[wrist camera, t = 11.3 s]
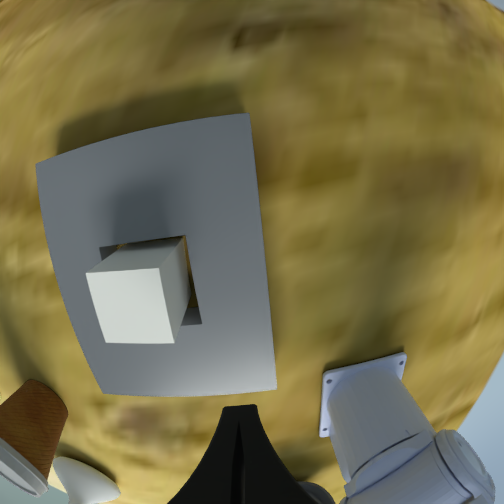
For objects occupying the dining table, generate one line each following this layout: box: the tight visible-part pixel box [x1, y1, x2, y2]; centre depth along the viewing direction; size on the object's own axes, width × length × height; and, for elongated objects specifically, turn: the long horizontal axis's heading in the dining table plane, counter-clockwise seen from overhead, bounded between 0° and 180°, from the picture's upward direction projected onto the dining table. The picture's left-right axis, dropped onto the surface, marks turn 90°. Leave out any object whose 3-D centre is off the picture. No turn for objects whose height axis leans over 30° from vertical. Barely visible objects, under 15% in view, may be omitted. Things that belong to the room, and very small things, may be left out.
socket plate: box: [36, 113, 277, 397], centre depth 17 cm, size 18×14×2 cm
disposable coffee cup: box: [0, 380, 68, 497], centre depth 16 cm, size 10×10×12 cm
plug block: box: [86, 238, 191, 344], centre depth 15 cm, size 4×4×6 cm
